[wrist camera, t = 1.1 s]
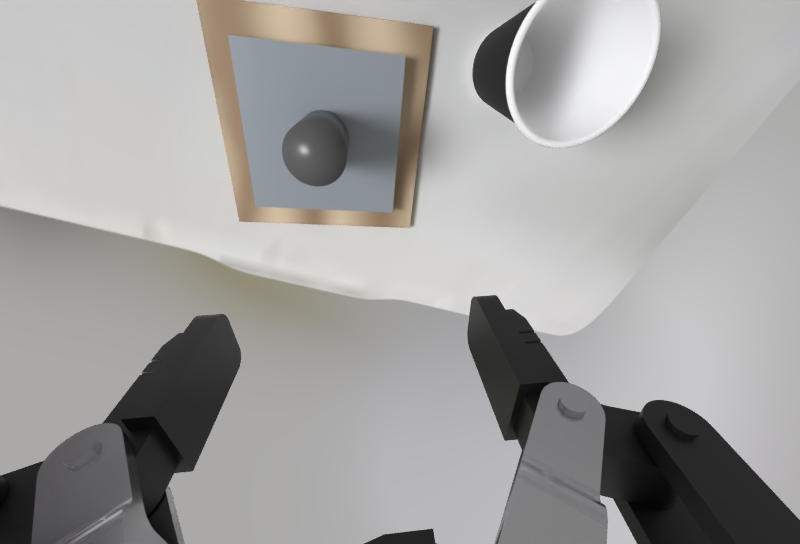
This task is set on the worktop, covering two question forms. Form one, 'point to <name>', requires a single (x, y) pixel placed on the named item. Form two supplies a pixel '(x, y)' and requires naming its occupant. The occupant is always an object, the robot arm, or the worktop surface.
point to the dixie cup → (568, 66)
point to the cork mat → (324, 29)
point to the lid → (319, 123)
